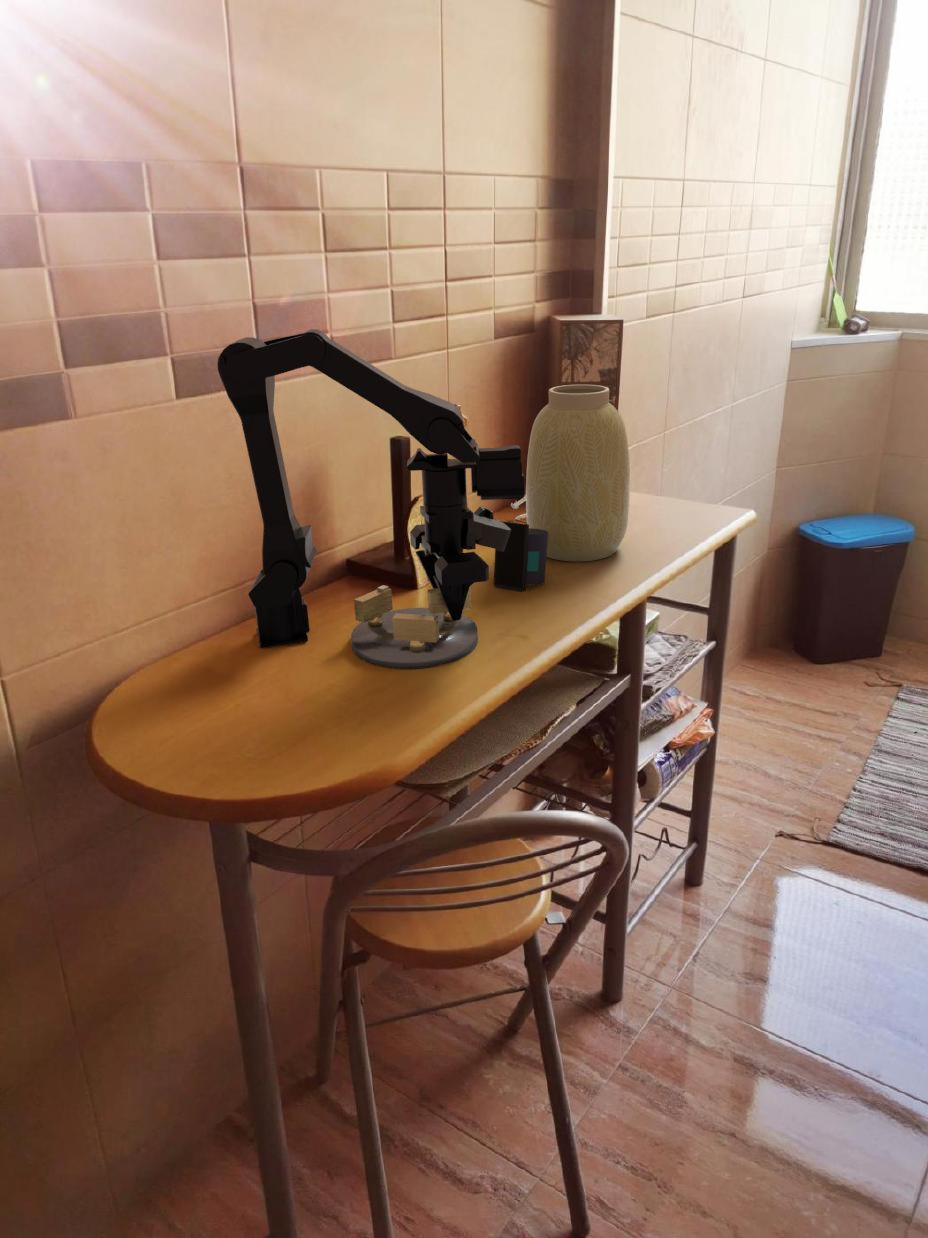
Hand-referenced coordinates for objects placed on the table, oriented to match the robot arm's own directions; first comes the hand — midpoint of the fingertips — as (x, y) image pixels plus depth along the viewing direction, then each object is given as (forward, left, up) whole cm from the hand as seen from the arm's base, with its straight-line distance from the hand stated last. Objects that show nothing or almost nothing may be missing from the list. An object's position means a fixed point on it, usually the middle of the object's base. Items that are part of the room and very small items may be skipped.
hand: (449, 611), depth 128 cm
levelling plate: (-6, -2, -3) cm, 7 cm away
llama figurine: (+32, +40, -3) cm, 51 cm away
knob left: (-10, +2, -1) cm, 10 cm away
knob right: (0, 0, -1) cm, 1 cm away
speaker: (+15, +14, -3) cm, 21 cm away
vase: (+29, +26, -3) cm, 39 cm away
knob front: (-7, -8, -1) cm, 10 cm away
